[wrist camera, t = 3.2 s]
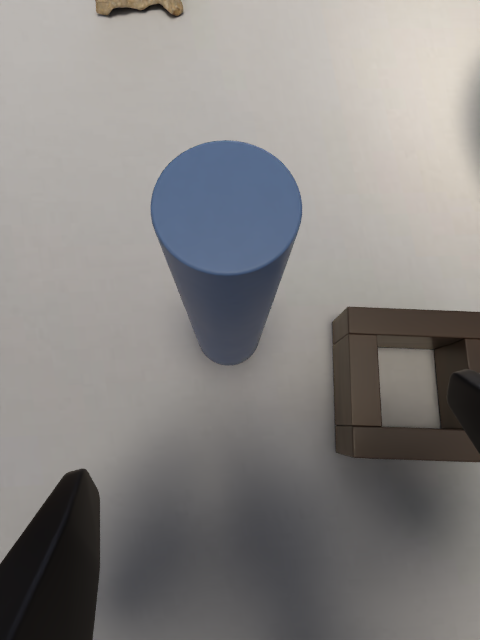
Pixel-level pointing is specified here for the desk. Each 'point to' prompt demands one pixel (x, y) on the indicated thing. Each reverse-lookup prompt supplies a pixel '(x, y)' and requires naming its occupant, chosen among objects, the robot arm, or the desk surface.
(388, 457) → the frame
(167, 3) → the artifact
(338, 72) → the desk surface
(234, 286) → the blue tall cylinder
